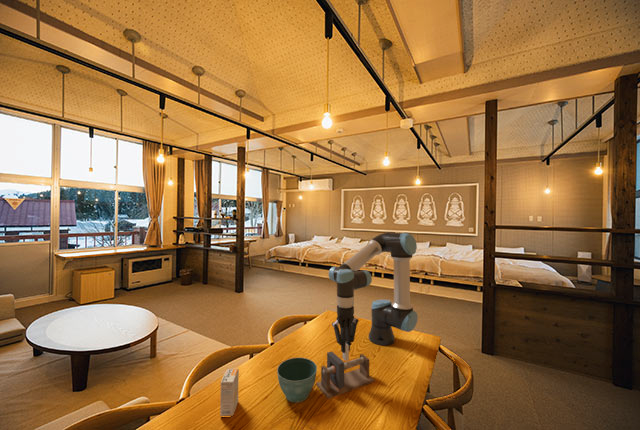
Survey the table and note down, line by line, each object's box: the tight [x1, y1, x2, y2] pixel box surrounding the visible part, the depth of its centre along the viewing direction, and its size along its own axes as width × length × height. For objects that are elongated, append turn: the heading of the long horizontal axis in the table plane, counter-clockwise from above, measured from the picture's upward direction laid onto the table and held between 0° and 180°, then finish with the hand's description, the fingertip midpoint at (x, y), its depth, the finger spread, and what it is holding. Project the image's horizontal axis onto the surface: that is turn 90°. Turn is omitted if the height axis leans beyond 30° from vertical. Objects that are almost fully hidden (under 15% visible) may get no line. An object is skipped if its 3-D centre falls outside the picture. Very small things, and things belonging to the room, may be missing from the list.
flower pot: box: [276, 357, 318, 404], centre depth 103 cm, size 16×16×11 cm
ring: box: [326, 351, 345, 389], centre depth 108 cm, size 2×10×10 cm, turn 28°
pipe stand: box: [316, 353, 376, 400], centre depth 111 cm, size 24×10×9 cm, turn 118°
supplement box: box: [219, 368, 240, 417], centre depth 95 cm, size 8×5×13 cm, turn 5°
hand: (345, 358), depth 111 cm, fingers closed
